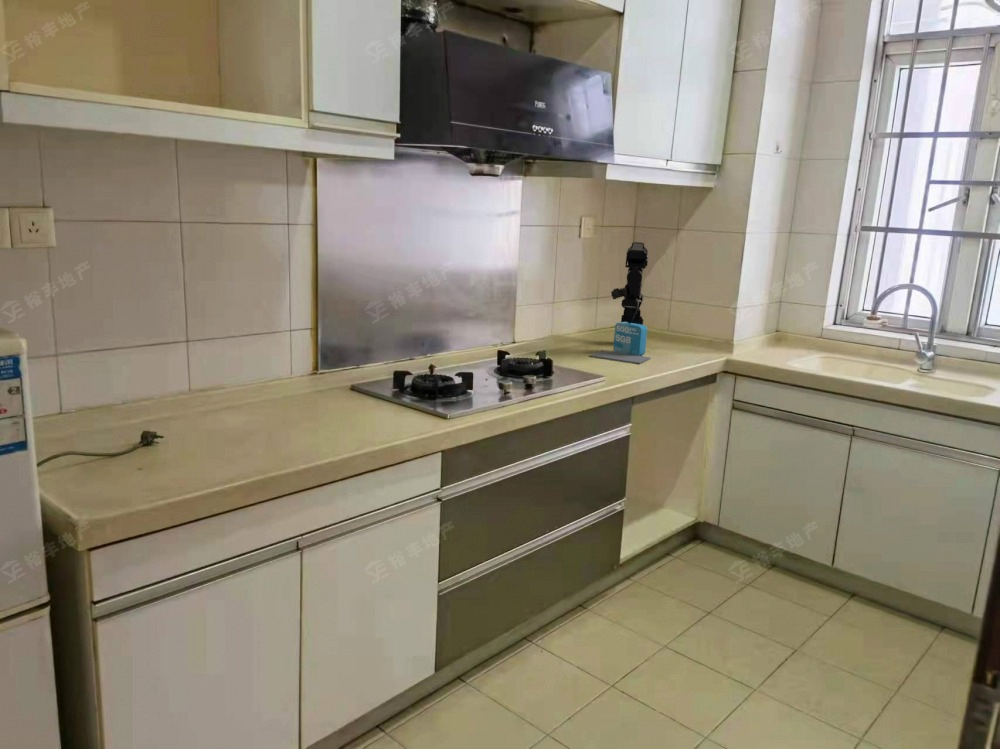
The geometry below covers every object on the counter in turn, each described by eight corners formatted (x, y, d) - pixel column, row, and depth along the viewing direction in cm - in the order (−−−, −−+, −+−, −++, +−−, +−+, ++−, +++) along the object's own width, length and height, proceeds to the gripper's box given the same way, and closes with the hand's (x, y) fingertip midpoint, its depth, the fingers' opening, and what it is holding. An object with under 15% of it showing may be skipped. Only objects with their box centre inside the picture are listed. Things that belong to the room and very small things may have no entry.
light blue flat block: (612, 352, 296) (615, 322, 293) (619, 350, 299) (621, 321, 296) (638, 357, 288) (641, 326, 285) (645, 355, 291) (647, 325, 289)
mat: (601, 351, 295) (601, 350, 295) (650, 359, 286) (650, 357, 286) (589, 356, 285) (589, 355, 285) (639, 364, 276) (640, 362, 276)
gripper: (617, 277, 302) (614, 315, 306) (609, 283, 285) (606, 323, 289) (645, 279, 299) (641, 318, 303) (639, 285, 282) (635, 326, 286)
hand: (630, 321), depth 295 cm, fingers open, 9 cm apart
